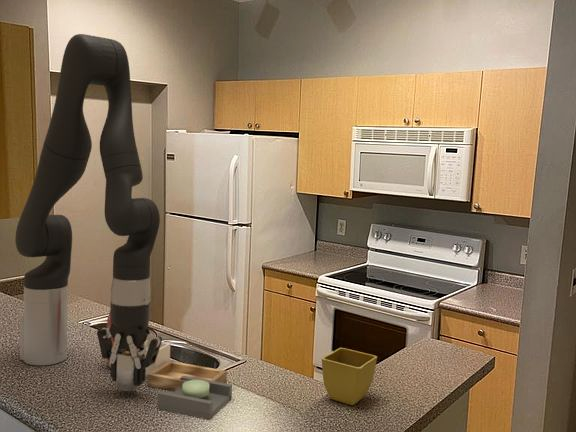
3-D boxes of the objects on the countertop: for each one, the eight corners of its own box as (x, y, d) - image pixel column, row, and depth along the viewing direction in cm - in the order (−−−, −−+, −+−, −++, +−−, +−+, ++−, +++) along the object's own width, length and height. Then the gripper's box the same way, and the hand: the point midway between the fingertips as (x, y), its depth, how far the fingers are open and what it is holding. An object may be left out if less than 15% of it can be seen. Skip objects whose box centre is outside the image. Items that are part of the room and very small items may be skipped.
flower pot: (357, 412, 114) (360, 367, 113) (318, 400, 118) (320, 357, 117) (375, 397, 121) (378, 356, 120) (337, 387, 126) (340, 347, 125)
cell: (111, 388, 115) (112, 351, 114) (124, 380, 119) (125, 344, 118) (130, 392, 114) (132, 355, 113) (143, 384, 118) (144, 348, 117)
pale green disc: (177, 395, 112) (177, 387, 112) (190, 385, 117) (190, 378, 117) (201, 400, 110) (202, 392, 110) (213, 390, 115) (213, 382, 115)
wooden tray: (147, 385, 121) (147, 374, 121) (169, 371, 130) (169, 360, 129) (207, 397, 117) (208, 385, 117) (226, 382, 125) (227, 370, 125)
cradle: (157, 408, 111) (157, 393, 110) (182, 389, 120) (183, 375, 120) (209, 419, 107) (210, 403, 107) (231, 398, 117) (232, 384, 117)
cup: (131, 374, 127) (131, 347, 126) (146, 365, 133) (147, 340, 132) (155, 378, 125) (156, 351, 125) (169, 369, 131) (170, 343, 130)
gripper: (87, 298, 113) (85, 382, 115) (152, 308, 109) (148, 396, 111) (110, 290, 120) (108, 370, 122) (172, 300, 116) (168, 382, 118)
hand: (127, 382), depth 116 cm, fingers closed on cell, 4 cm apart
